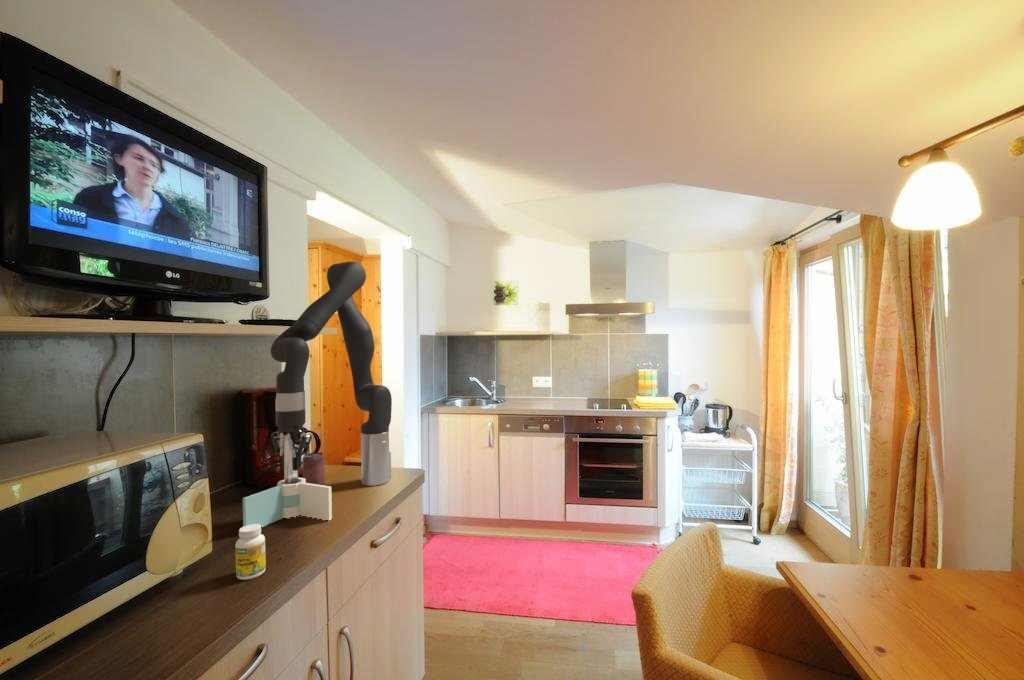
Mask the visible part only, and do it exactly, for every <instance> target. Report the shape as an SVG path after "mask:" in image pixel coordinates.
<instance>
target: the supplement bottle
mask: <svg viewBox="0 0 1024 680" xmlns="http://www.w3.org/2000/svg"><path fill="white" fill-rule="evenodd" d="M238 536H239V538H238V539H237V541H236V542H235V545H234V546H235V549H234V550H235V576H236V578H237V579H238V580H243V581H246V580H250V579H254V578H257V577H259V576H261V575H262V574H264V573H265V571H266V567H267V559H266V537H265V535H264V534H262V528H261V525H259V524H251V525H247V526H244V527H243V526H242V527H240V528H239V530H238Z"/></svg>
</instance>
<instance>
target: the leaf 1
mask: <svg viewBox="0 0 1024 680" xmlns="http://www.w3.org/2000/svg"><path fill="white" fill-rule="evenodd" d="M298 505H300V497H299V494H298V495H293V496H282V485H279V486H277V485H276V486H273V487H270V488H268V489H265V490H262V491H259V492H256V493H253V494H250V495H249V496H245V497H242V527H244V526H247V525H251V524H259V525H261V527H262V528H264V527H266V526H269V525H271V524H272V523H275V522H277V521H280V520H282V519H283V507H284V508H286V507H293V506H298ZM270 523H271V524H270ZM268 524H269V525H268Z"/></svg>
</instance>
